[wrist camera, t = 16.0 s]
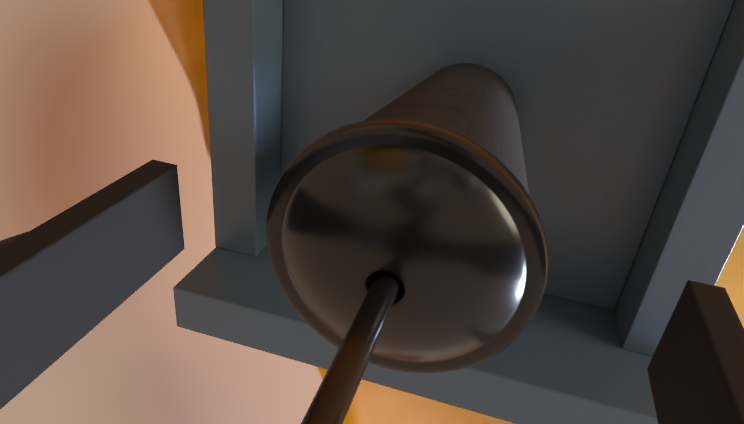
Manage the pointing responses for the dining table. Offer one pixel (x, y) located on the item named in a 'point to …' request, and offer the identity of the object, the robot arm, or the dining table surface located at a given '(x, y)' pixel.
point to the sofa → (542, 164)
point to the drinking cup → (412, 235)
